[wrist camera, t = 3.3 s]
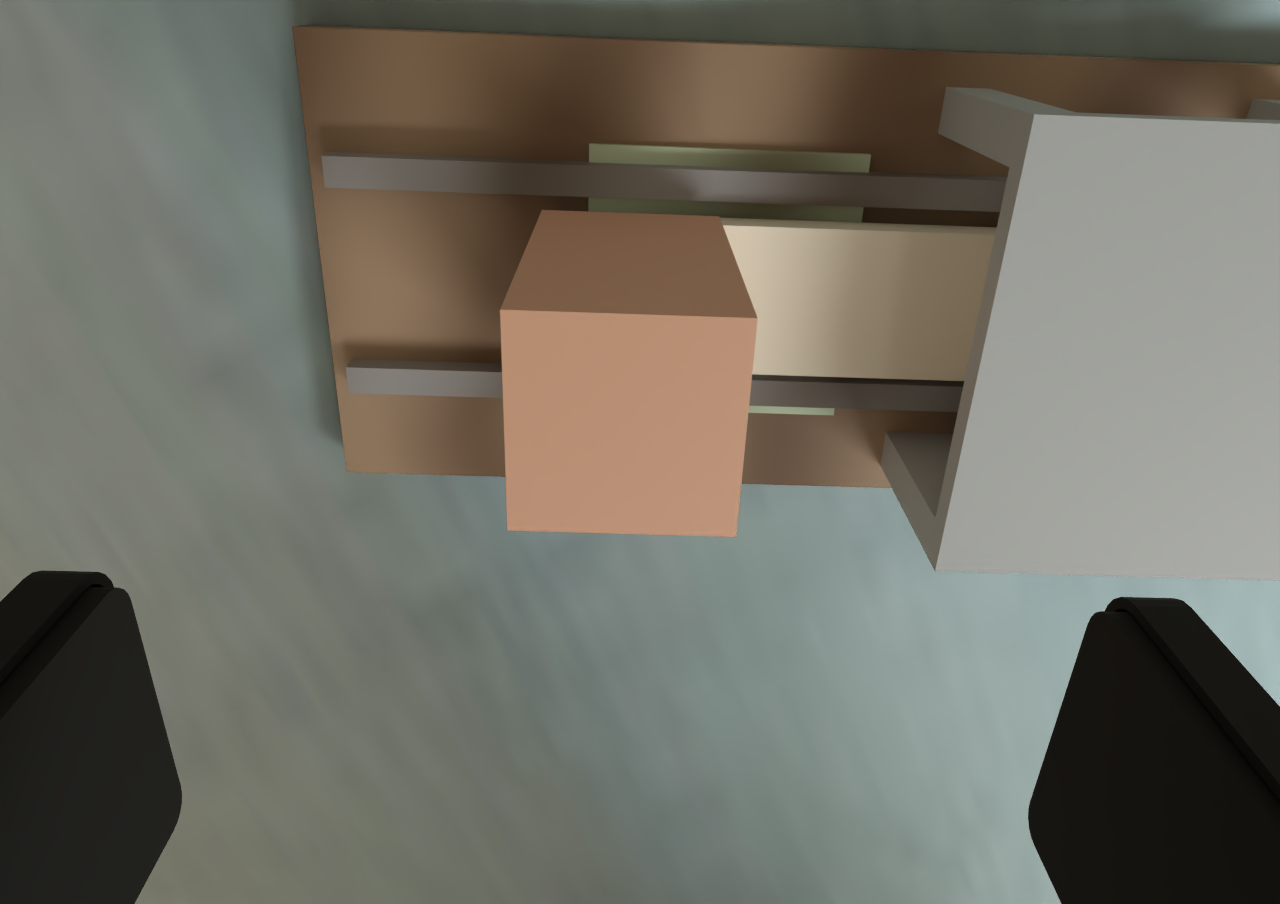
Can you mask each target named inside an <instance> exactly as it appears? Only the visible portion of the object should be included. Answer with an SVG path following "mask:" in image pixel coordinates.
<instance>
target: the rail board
mask: <svg viewBox="0 0 1280 904" xmlns="http://www.w3.org/2000/svg"><path fill="white" fill-rule="evenodd" d="M292 28H293V36H294V44H295V52H296V61H297V69H298V77H299V85H300V93H301V102H302V110H303V118H304V126H305V134H306V143H307V151H308V159H309V167H310V175H311V184H312V192H313V200H314V208H315V216H316V225H317V233H318V241H319V249H320V258H321V266H322V274H323V282H324V290H325V299H326V307H327V315H328V323H329V331H330V340H331V348H332V356H333V364H334V372H335V381H336V389H337V397H338V405H339V413H340V422H341V430H342V438H343V446H344V454H345V463H346V471H347V472H365V473H399V474H433V475H467V476H501V477H506V473H505V443H504V413H503V383H502V353H501V323H500V309H501V306H502V304H503V301H504V299H505V297H506V294H507V292H508V290H509V287H510V285H511V282H512V280H513V278H514V275H515V273H516V270H517V268H518V266H519V263H520V261H521V259H522V256H523V254H524V251H525V249H526V247H527V244H528V242H529V239H530V237H531V235H532V232H533V230H534V228H535V225H536V223H537V220H538V218H539V216H540V213H541V211H542V210H558V211H587V212H615V213H643V214H671V215H699V216H719V217H721V218H749V219H777V220H805V221H833V222H861V223H889V224H917V225H945V226H974V227H997V224H998V219H999V215H1000V210H1001V205H1002V201H1003V196H1004V191H1005V186H1006V182H1007V177H1008V172H1009V167H1008V166H1006V165H1003V164H1001V163H999V162H997V161H995V160H993V159H991V158H989V157H987V156H984V155H982V154H980V153H978V152H976V151H974V150H972V149H970V148H967V147H965V146H963V145H961V144H959V143H957V142H955V141H953V140H951V139H948V138H946V137H944V136H942V135H940V134H938V130H939V124H940V119H941V113H942V107H943V101H944V96H945V90H946V87H962V88H987V89H993V90H997V91H1001V92H1004V93H1008V94H1011V95H1015V96H1019V97H1022V98H1026V99H1029V100H1033V101H1037V102H1040V103H1044V104H1047V105H1051V106H1055V107H1058V108H1062V109H1065V110H1069V111H1073V112H1077V113H1103V114H1129V115H1155V116H1181V117H1207V118H1233V119H1246V118H1247V115H1248V112H1249V108H1250V105H1251V102H1252V99H1270V100H1280V64H1269V63H1243V62H1218V61H1193V60H1168V59H1143V58H1118V57H1093V56H1068V55H1042V54H1017V53H992V52H967V51H942V50H917V49H892V48H866V47H841V46H816V45H791V44H766V43H741V42H716V41H691V40H665V39H640V38H615V37H590V36H565V35H540V34H515V33H490V32H464V31H439V30H414V29H389V28H364V27H339V26H314V25H305V26H295V27H292ZM963 385H964V381H944V380H913V379H881V378H850V377H819V376H788V375H756V374H752V381H751V392H750V402H749V412H748V422H747V432H746V442H745V452H744V463H743V473H742V483H741V484H773V485H807V486H841V487H875V488H892V487H891V485H890V483H889V481H888V479H887V477H886V475H885V474H884V472H883V470H882V468H881V466H880V463H881V457H882V451H883V446H884V440H885V434H886V432H907V433H940V434H953V433H954V428H955V423H956V418H957V414H958V409H959V404H960V399H961V395H962V390H963Z"/></svg>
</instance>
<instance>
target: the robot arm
mask: <svg viewBox="0 0 1280 904" xmlns="http://www.w3.org/2000/svg"><path fill="white" fill-rule="evenodd" d="M181 804H182V791H181V785H180V782H179V778H178V774H177V770H176V767H175V763H174V759H173V755H172V752H171V748H170V744H169V740H168V737H167V733H166V729H165V725H164V722H163V718H162V714H161V710H160V707H159V703H158V699H157V696H156V692H155V688H154V684H153V681H152V677H151V673H150V669H149V666H148V662H147V658H146V654H145V651H144V647H143V643H142V639H141V636H140V632H139V628H138V624H137V621H136V617H135V613H134V609H133V606H132V602H131V599H130V597H129V594H128V593H127V592H126V591H125V590H124V589H121V588H114V586H113V584H112V581H111V580H110V579H109V578H108V577H107V576H106V575H105V574H102V573H100V572H76V571H38V572H33V573H31V574H30V575H28V576H27V577H26V578H24V579H23V580H22V581H21V582H20V583H19V584H18V585H17V586H16V587H15V588H14V589H13V590H12V591H11V592H10V593H9V594H8V595H7V596H6V597H5V598H4V599H3V600H2V601H1V602H0V904H134V903H135V901H136V900H137V898H138V896H139V894H140V892H141V890H142V888H143V887H144V885H145V883H146V881H147V879H148V877H149V875H150V874H151V872H152V870H153V868H154V866H155V864H156V862H157V861H158V859H159V857H160V855H161V853H162V851H163V849H164V847H165V846H166V844H167V842H168V840H169V838H170V836H171V834H172V833H173V831H174V828H175V826H176V824H177V821H178V818H179V815H180V810H181ZM1028 820H1029V829H1030V833H1031V838H1032V840H1033V843H1034V846H1035V848H1036V850H1037V852H1038V854H1039V856H1040V858H1041V861H1042V863H1043V865H1044V867H1045V869H1046V871H1047V873H1048V876H1049V878H1050V880H1051V882H1052V884H1053V886H1054V888H1055V891H1056V893H1057V895H1058V897H1059V899H1060V901H1061V903H1062V904H1280V707H1279V705H1278V704H1277V703H1276V702H1275V701H1274V700H1273V699H1272V698H1271V696H1270V695H1269V694H1268V693H1267V692H1266V691H1265V690H1264V689H1263V687H1262V686H1261V685H1260V684H1259V683H1258V682H1257V681H1256V680H1255V679H1254V677H1253V676H1252V675H1251V674H1250V673H1249V672H1248V671H1247V670H1246V668H1245V667H1244V666H1243V665H1242V664H1241V663H1240V662H1239V661H1238V660H1237V658H1236V657H1235V656H1234V655H1233V654H1232V653H1231V652H1230V651H1229V649H1228V648H1227V647H1226V646H1225V645H1224V644H1223V643H1222V642H1221V640H1220V639H1219V638H1218V637H1217V636H1216V635H1215V634H1214V633H1213V632H1212V630H1211V629H1210V628H1209V627H1208V626H1207V625H1206V624H1205V623H1204V621H1203V620H1202V619H1201V618H1200V617H1199V616H1198V615H1197V614H1196V613H1195V611H1194V610H1193V609H1192V608H1191V607H1190V606H1189V605H1187V604H1186V603H1185V602H1184V601H1182V600H1178V599H1175V598H1135V597H1120V598H1116V599H1113V600H1112V601H1111V602H1110V603H1109V604H1108V606H1107V608H1106V610H1105V612H1097V613H1095V614H1094V615H1093V616H1092V617H1091V618H1090V621H1089V623H1088V625H1087V628H1086V631H1085V634H1084V637H1083V640H1082V644H1081V647H1080V650H1079V653H1078V656H1077V659H1076V662H1075V665H1074V668H1073V671H1072V674H1071V678H1070V681H1069V684H1068V687H1067V690H1066V693H1065V696H1064V699H1063V702H1062V705H1061V708H1060V711H1059V715H1058V718H1057V721H1056V724H1055V727H1054V730H1053V733H1052V736H1051V739H1050V742H1049V745H1048V748H1047V752H1046V755H1045V758H1044V761H1043V764H1042V767H1041V770H1040V773H1039V776H1038V779H1037V782H1036V786H1035V789H1034V792H1033V795H1032V798H1031V801H1030V805H1029V812H1028Z"/></svg>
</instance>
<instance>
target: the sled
mask: <svg viewBox="0 0 1280 904" xmlns="http://www.w3.org/2000/svg"><path fill="white" fill-rule="evenodd" d="M996 229H997V227H974V226H945V225H917V224H889V223H861V222H833V221H805V220H777V219H749V218H721V217H719V216H699V215H671V214H643V213H615V212H587V211H558V210H542V211H541V213H540V216H539V218H538V220H537V223H536V225H535V228H534V230H533V232H532V235H531V237H530V239H529V242H528V244H527V247H526V249H525V251H524V254H523V256H522V259H521V261H520V263H519V266H518V268H517V270H516V273H515V275H514V278H513V280H512V282H511V285H510V287H509V290H508V292H507V294H506V297H505V299H504V301H503V304H502V306H501V309H500V323H501V353H502V383H503V413H504V443H505V473H506V503H507V530H509V531H545V532H580V533H616V534H651V535H687V536H722V537H736V534H737V524H738V513H739V503H740V493H741V483H742V473H743V463H744V452H745V442H746V432H747V422H748V412H749V402H750V392H751V381H752V374H756V375H788V376H819V377H850V378H881V379H913V380H944V381H964V380H965V376H966V371H967V366H968V362H969V357H970V352H971V347H972V343H973V338H974V333H975V328H976V324H977V319H978V314H979V309H980V305H981V300H982V295H983V291H984V286H985V281H986V276H987V272H988V267H989V262H990V257H991V253H992V248H993V243H994V238H995V234H996Z"/></svg>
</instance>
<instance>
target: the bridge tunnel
mask: <svg viewBox="0 0 1280 904" xmlns="http://www.w3.org/2000/svg"><path fill="white" fill-rule="evenodd" d="M938 134H940V135H942V136H944V137H946V138H948V139H951V140H953V141H955V142H957V143H959V144H961V145H963V146H965V147H967V148H970V149H972V150H974V151H976V152H978V153H980V154H982V155H984V156H987V157H989V158H991V159H993V160H995V161H997V162H999V163H1001V164H1003V165H1006V166H1008V167H1009V172H1008V177H1007V182H1006V186H1005V191H1004V196H1003V201H1002V205H1001V210H1000V215H999V219H998V224H997V229H996V234H995V238H994V243H993V248H992V253H991V257H990V262H989V267H988V272H987V276H986V281H985V286H984V291H983V295H982V300H981V305H980V309H979V314H978V319H977V324H976V328H975V333H974V338H973V343H972V347H971V352H970V357H969V362H968V366H967V371H966V376H965V380H964V385H963V390H962V395H961V399H960V404H959V409H958V414H957V418H956V423H955V428H954V433H953V434H940V433H907V432H886V434H885V440H884V446H883V451H882V457H881V463H880V466H881V468H882V470H883V472H884V474H885V475H886V477H887V479H888V481H889V483H890V485H891V487H892V489H893V491H894V493H895V495H896V497H897V499H898V501H899V502H900V504H901V506H902V508H903V510H904V512H905V514H906V516H907V518H908V520H909V522H910V524H911V526H912V528H913V530H914V531H915V533H916V535H917V537H918V539H919V541H920V543H921V545H922V547H923V549H924V551H925V553H926V555H927V557H928V559H929V560H930V562H931V564H932V566H933V568H934V570H935V571H946V572H982V573H1019V574H1055V575H1091V576H1128V577H1164V578H1201V579H1237V580H1274V581H1280V100H1270V99H1252V102H1251V105H1250V108H1249V112H1248V115H1247V118H1246V119H1233V118H1207V117H1181V116H1155V115H1129V114H1103V113H1077V112H1073V111H1069V110H1065V109H1062V108H1058V107H1055V106H1051V105H1047V104H1044V103H1040V102H1037V101H1033V100H1029V99H1026V98H1022V97H1019V96H1015V95H1011V94H1008V93H1004V92H1001V91H997V90H993V89H987V88H962V87H946V90H945V96H944V101H943V107H942V113H941V119H940V124H939V130H938Z"/></svg>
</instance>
